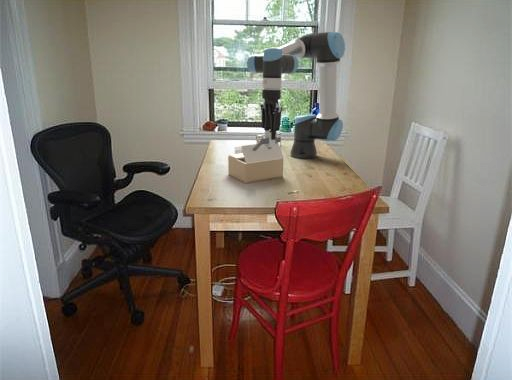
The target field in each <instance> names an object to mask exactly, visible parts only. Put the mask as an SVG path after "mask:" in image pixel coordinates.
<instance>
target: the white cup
mask: <svg viewBox="0 0 512 380" xmlns="http://www.w3.org/2000/svg"><path fill="white" fill-rule="evenodd" d="M241 146H242V145H241ZM241 146H235V147H234V154H239V153H243V152H242V149H241Z"/></svg>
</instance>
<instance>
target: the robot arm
mask: <svg viewBox="0 0 512 380" xmlns="http://www.w3.org/2000/svg"><path fill="white" fill-rule="evenodd" d="M345 50H346V43H345V39H344V37H343V35H342V34H341V33H340V32H335V31H330V32H329V31H327V32H312V33H307V34H304V35H301V36H299V37H296V38H294V39H292V40H290V41H289V43H286V44H284V45H282V46H280V47H279V46H278V47H267V48H264V49H263V53H261V54H251V55H249V56H248V58H247V61H246V65H247V70H248V71H249V72H250V73H251V74H252V73H253V74H254V73H255V74H262V88H263V89H262V92H261V93H262V94H261V97H262V99H263V100H264V101H263V104H261V103H260V105H259V107H260V110H261V111H260V112H261V128H262V129H264V138H269V144H265V146H269V147H275V139H276V137H277V132H278V131H280V130H281V129H280V128H281V121H282V119H281V118H282V113H283V107H282V106H279V104H280V103H279V101H280V100H281V98H282V91H281V88H282V74H287V75H291V74H294V73H295V72H297V70H298V69H299V65H300V63H299V60H300V59H316V60H315V62H316V64H317V65H318V66H319V70H318V71H319V73H318V74H319V76H318V77H319V80H318V82H319V83H318V85H319V87H318V89H319V93H318V95H319V97H318V98H319V99H318V100H319V102H318V103H319V104H318V105H319V106H318V107H319V112H318V114H304V115H298V116H296V117H295V118H294V126H293V127H294V132H293V133H294V135H293V144H292V147H291V149H290V157H292V158H294V159H295V158H296V159H303V160H304V159H314V158H317V156H318V151H317V147H316V141H315V140H319V141H321V140H322V141H326V142H336V141H337V140H338V139H339V138H340V137H341V135H342V131H343V129H344V123H343V120H341V119H340V118H339V117H340V116H339V113H337V72H338V69H337V68H338V64H339V63H340V61H341V58H344V56H345V52H346V51H345Z"/></svg>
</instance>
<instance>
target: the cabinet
mask: <svg viewBox="0 0 512 380" xmlns="http://www.w3.org/2000/svg"><path fill="white" fill-rule="evenodd" d="M227 161H228V163H227V164H228V165H227V166H228V167H227V168H228V169H227V170H228V175H229V176H231V178H234V179H236V180H238V181H240V182H241V183H243V184H245V185H247V184H251V182H252V183H256V182H263V181H267V180H268V181H269V180H273V179H279V178H283V177H284V157H283V158H281V159H274V160H267V161H260V162H253V163H246V162H245V158H244V155H243V153H239V154H235V153H233V154H232V153H231V154H229V155H228V157H227Z"/></svg>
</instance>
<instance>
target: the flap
mask: <svg viewBox="0 0 512 380" xmlns="http://www.w3.org/2000/svg"><path fill="white" fill-rule="evenodd" d="M281 141H282V138H281V137H280V136H276V139H275V147H269V146H265V144H269V138H265V137H264V138H260V140H259V142H258V143H257V144H248V145H247V144H246V145H245V144H244V145H241V149H242V152H243V155H244V158H245V162H246V163H253V162H260V161H267V160H274V159H281V158H283V159H284V154H283V153H282V149H281V146H280V144H279V143H281Z"/></svg>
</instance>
